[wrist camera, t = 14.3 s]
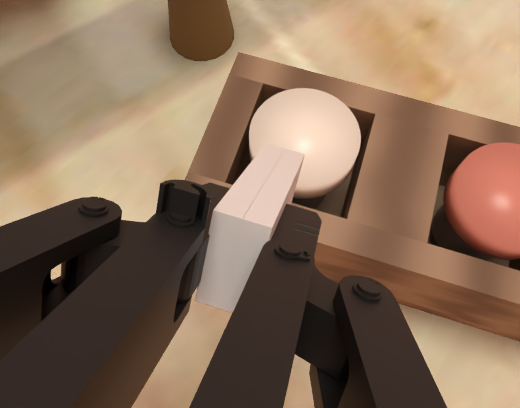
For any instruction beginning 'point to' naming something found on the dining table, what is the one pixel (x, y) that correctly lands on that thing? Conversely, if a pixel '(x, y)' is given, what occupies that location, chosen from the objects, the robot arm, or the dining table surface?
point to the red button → (482, 205)
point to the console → (380, 192)
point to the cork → (200, 28)
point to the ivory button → (309, 138)
